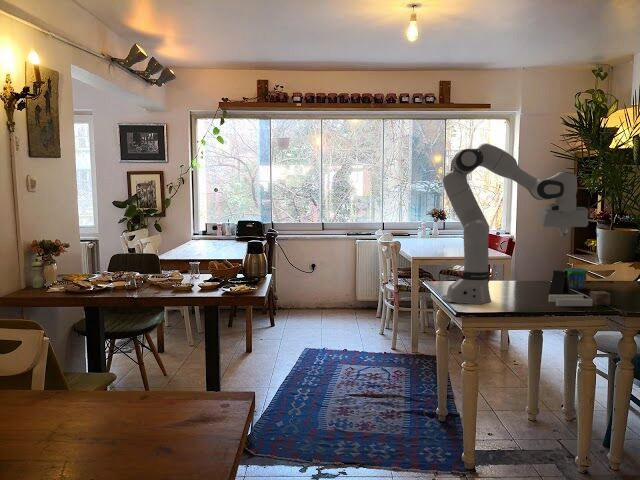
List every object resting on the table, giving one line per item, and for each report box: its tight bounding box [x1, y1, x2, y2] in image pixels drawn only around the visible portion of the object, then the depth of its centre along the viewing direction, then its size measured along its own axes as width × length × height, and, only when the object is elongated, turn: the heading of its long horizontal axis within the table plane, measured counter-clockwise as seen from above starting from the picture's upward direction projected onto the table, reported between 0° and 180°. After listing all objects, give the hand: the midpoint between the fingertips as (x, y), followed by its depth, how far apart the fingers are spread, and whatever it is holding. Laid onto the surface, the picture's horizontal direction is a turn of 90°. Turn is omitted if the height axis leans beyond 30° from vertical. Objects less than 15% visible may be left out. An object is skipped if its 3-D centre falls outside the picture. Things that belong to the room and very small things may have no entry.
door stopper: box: [548, 268, 571, 295], centre depth 256 cm, size 9×6×12 cm, turn 122°
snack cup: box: [564, 267, 588, 290], centre depth 267 cm, size 16×10×10 cm
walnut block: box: [589, 290, 611, 306], centre depth 228 cm, size 6×6×5 cm
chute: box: [548, 294, 593, 307], centre depth 229 cm, size 15×10×4 cm, turn 87°
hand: (564, 236), depth 237 cm, fingers closed
